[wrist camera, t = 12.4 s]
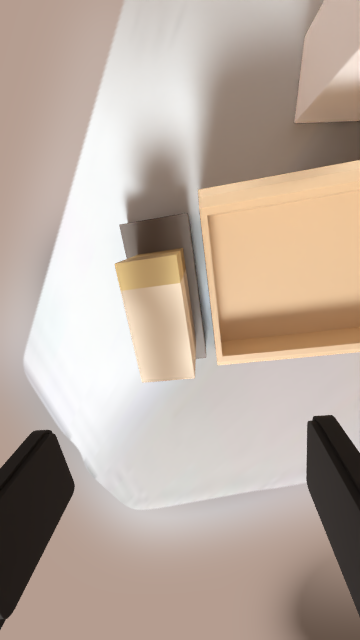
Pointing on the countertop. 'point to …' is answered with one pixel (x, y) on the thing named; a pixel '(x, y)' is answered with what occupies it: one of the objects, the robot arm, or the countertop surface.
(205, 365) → the countertop surface
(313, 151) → the countertop surface
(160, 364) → the block
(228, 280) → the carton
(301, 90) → the milk
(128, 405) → the countertop surface
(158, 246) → the block
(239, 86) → the countertop surface
